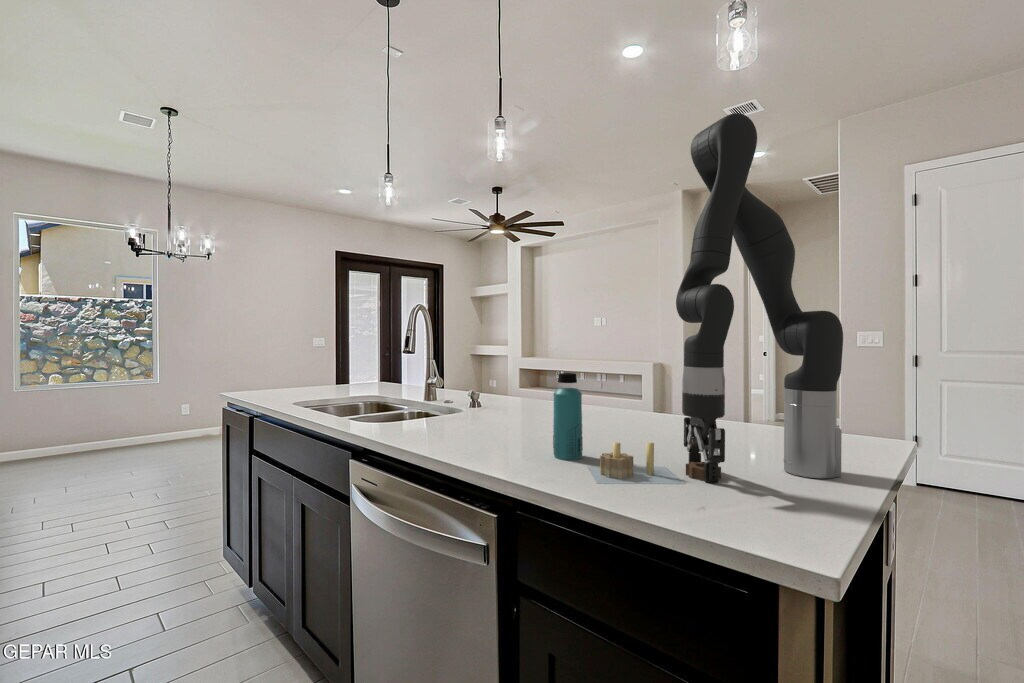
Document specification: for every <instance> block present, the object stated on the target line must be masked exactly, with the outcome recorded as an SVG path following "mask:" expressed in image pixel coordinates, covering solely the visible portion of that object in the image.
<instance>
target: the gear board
mask: <svg viewBox="0 0 1024 683" xmlns="http://www.w3.org/2000/svg"><path fill="white" fill-rule="evenodd" d="M645 444H646V445H645V446H646V447H645V449H646V452H645V453H646V454H645V455H646V458H645V461H646V464H645V465H643V466H641V465H639V466H638V465H637V466H635V465H633V475H632V477H631V478H622V479H618V478H612V477H611V478H607V477H606V476H605V475H601V474H600V465H587V466H586V468H587V469H588V471H589V472H590V474H591V476H592V478H593V480H594V481H595V483H596V484H598V485H602V484H603V485H610V484H611V485H687V483H686V482H685V481H684V480H682V479H681V478H680V477H679V476H678V475H676V473H674V472H673V471H672V470H670V469H669V468H668V467H667V466H665V465H664V466H655V443H654V442H648V441H647V442H646V443H645ZM612 452H613V458H620V453H621V442H618V441H617V442H615V441H613V442H612Z"/></svg>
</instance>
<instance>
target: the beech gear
mask: <svg viewBox="0 0 1024 683" xmlns="http://www.w3.org/2000/svg"><path fill="white" fill-rule="evenodd" d="M599 466H600V474H601V475H605V476H606V477H607V478H611V477H612V478H618V479H622V478H631V477H632V475H633V466H634V456H633V455H629V454H628V453H626V452H625V453H624V452H623V453H621V452H620V458H613V451H611V452H609V453H606V452H603V453H601V455H599Z"/></svg>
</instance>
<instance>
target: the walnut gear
mask: <svg viewBox="0 0 1024 683" xmlns="http://www.w3.org/2000/svg"><path fill="white" fill-rule="evenodd" d="M704 466H705V461H701V462H690V464H689V463H685V476H688V479H689V478H690V479H692V480H693V479H695V480H700V481H703V482H705V481H704ZM721 479H722V466H718V480H721Z"/></svg>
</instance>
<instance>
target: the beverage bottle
mask: <svg viewBox="0 0 1024 683" xmlns="http://www.w3.org/2000/svg"><path fill="white" fill-rule="evenodd" d="M557 378H558V379H557V382H558V383H560V384H577V382H578V379H577V378H578V377H577V374H576V373H573V372H561V373H558V377H557ZM552 396H553V430H552V432H553V434H552V448H553V456H554V458H555V459H557V460H563V461H575V460H581V459H582V457H583V449H584V448H583V447H584V446H583V438H584V437H583V411H582V409H583V408H582V407H583V405H582V401H583V400H582V399H583V398H582V396H583V393H582V392H581V391H580V390H579V389H578V388H577V387H576V388H574V387H558V388H557V389H556V390H555V391H554V392H553V395H552Z"/></svg>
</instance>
